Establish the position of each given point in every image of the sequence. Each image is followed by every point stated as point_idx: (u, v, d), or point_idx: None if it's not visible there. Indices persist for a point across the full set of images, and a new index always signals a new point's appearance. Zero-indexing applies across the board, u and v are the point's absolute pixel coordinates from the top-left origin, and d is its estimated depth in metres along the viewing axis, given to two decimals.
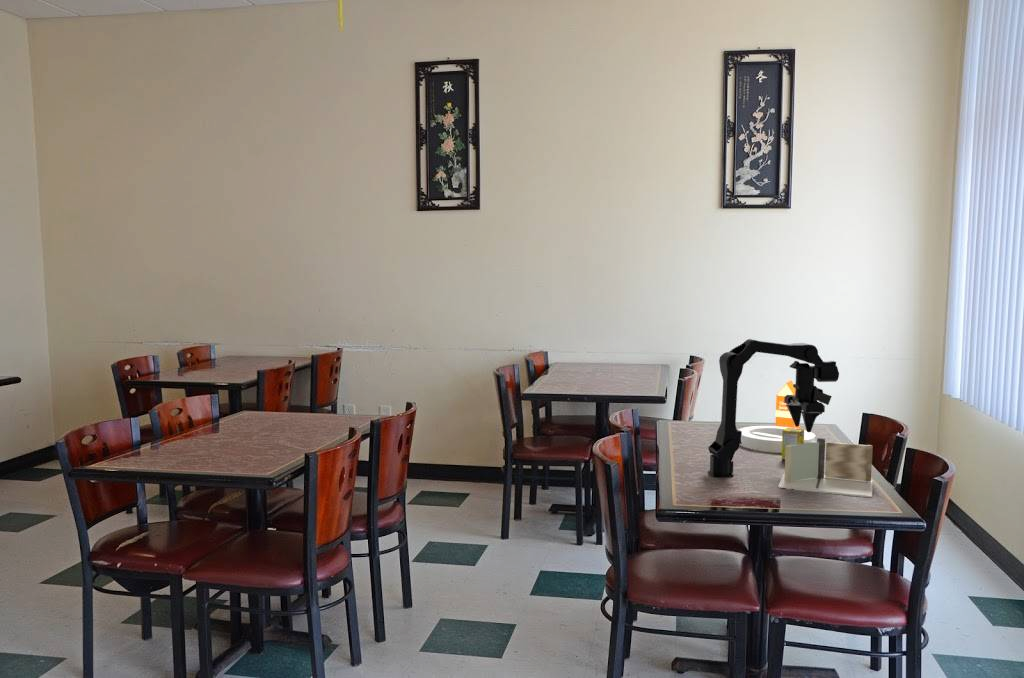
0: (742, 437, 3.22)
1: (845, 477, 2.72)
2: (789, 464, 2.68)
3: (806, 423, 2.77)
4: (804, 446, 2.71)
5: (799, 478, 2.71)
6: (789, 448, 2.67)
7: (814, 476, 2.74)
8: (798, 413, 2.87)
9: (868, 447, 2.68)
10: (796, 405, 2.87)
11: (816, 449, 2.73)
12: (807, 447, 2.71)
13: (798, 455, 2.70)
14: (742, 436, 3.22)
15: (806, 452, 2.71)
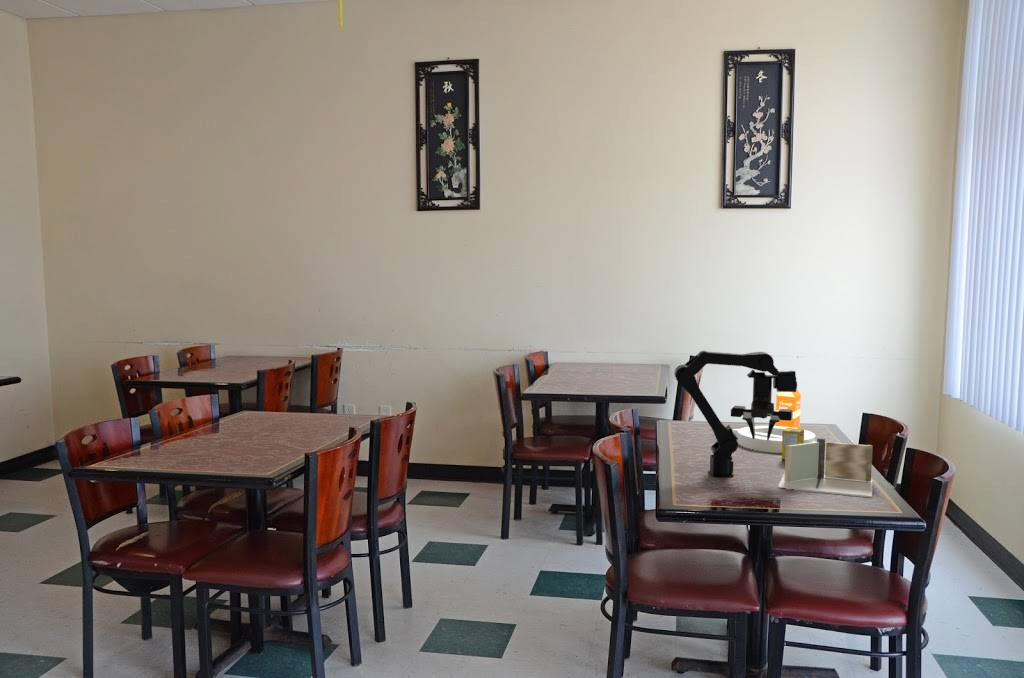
0: (742, 437, 3.22)
1: (845, 477, 2.72)
2: (789, 464, 2.68)
3: None
4: (804, 446, 2.71)
5: (799, 478, 2.71)
6: (789, 448, 2.67)
7: (814, 476, 2.74)
8: None
9: (868, 447, 2.68)
10: (771, 418, 2.77)
11: (816, 449, 2.73)
12: (807, 447, 2.71)
13: (798, 455, 2.70)
14: (742, 436, 3.22)
15: (806, 452, 2.71)
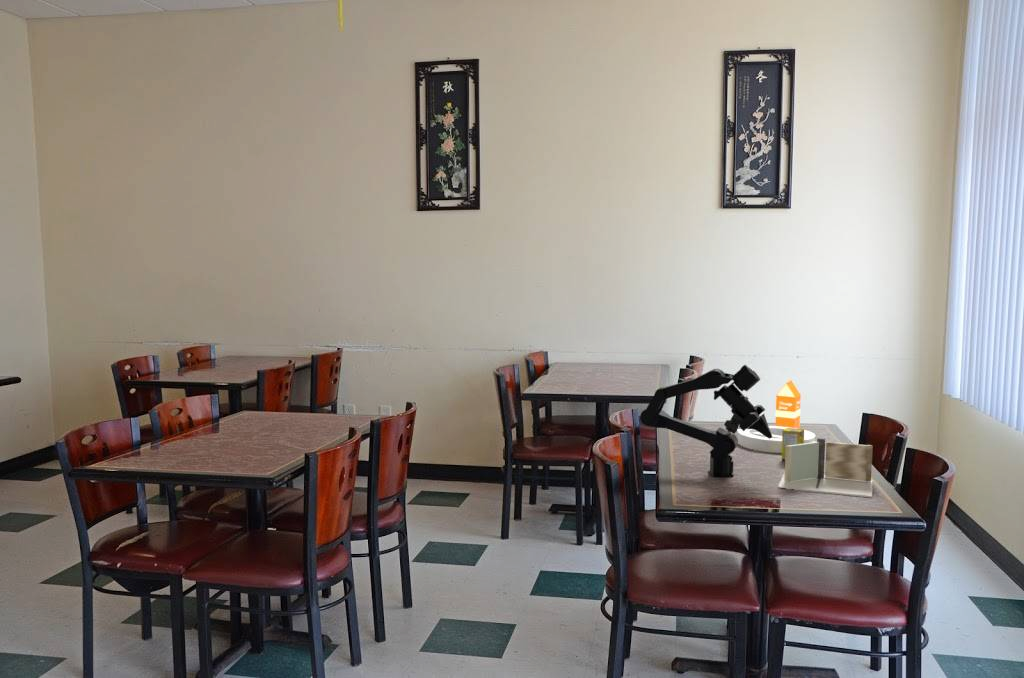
0: (742, 437, 3.22)
1: (845, 477, 2.72)
2: (789, 464, 2.68)
3: None
4: (804, 446, 2.71)
5: (799, 478, 2.71)
6: (789, 448, 2.67)
7: (814, 476, 2.74)
8: None
9: (868, 447, 2.68)
10: None
11: (816, 449, 2.73)
12: (807, 447, 2.71)
13: (798, 455, 2.70)
14: (742, 436, 3.22)
15: (806, 452, 2.71)
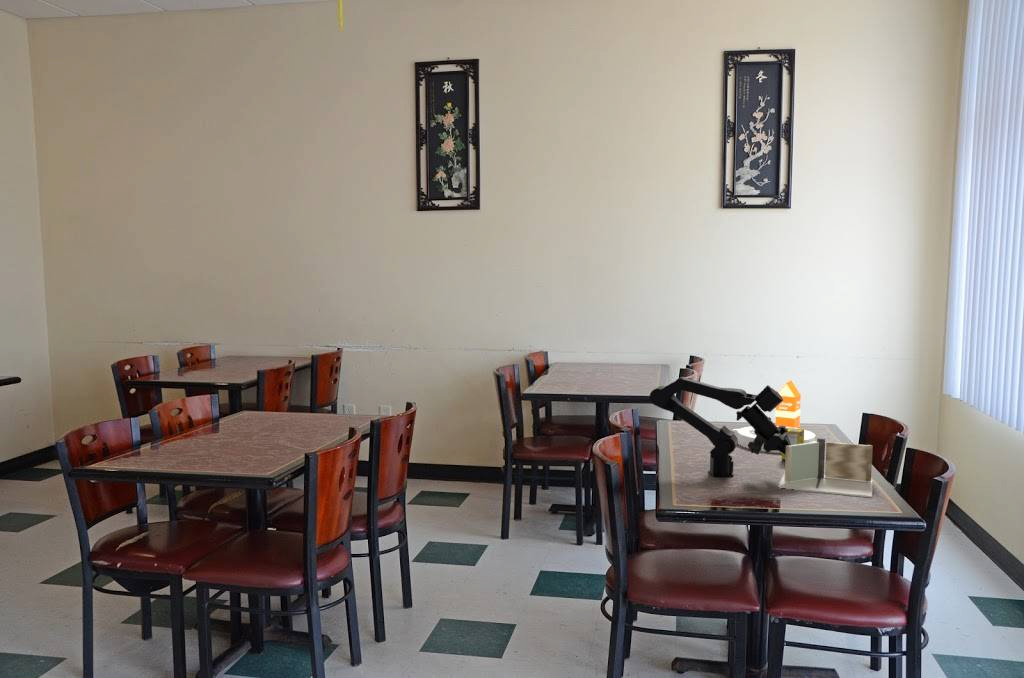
0: (742, 437, 3.22)
1: (845, 477, 2.72)
2: (789, 464, 2.68)
3: None
4: (804, 446, 2.71)
5: (799, 478, 2.71)
6: (789, 448, 2.67)
7: (814, 476, 2.74)
8: None
9: (868, 447, 2.68)
10: None
11: (816, 449, 2.73)
12: (807, 447, 2.71)
13: (798, 456, 2.70)
14: (742, 436, 3.22)
15: (806, 452, 2.71)
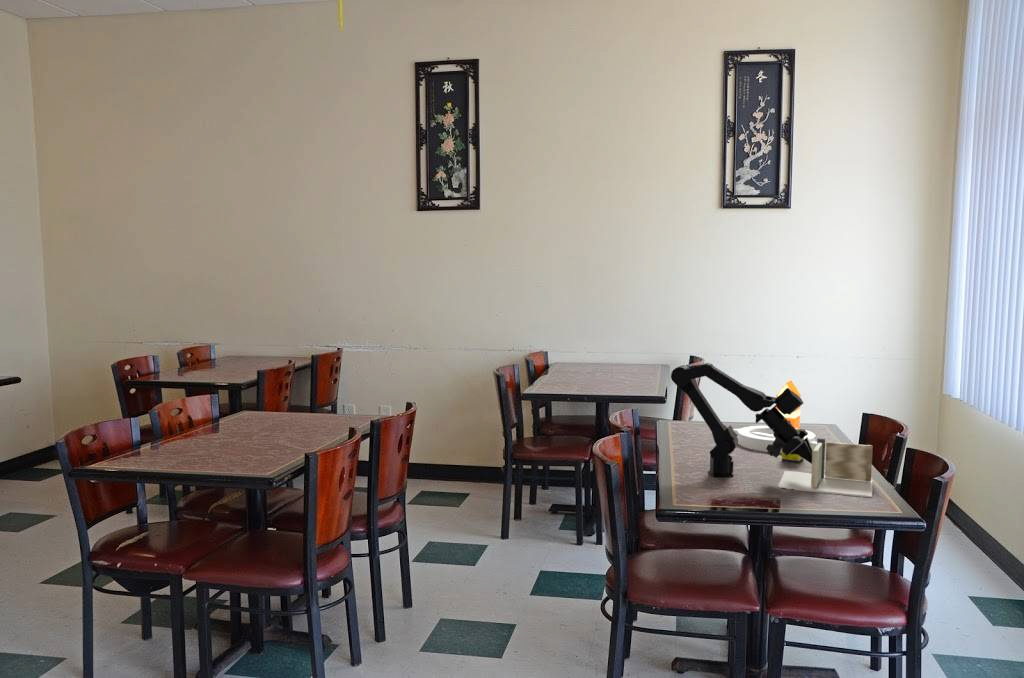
0: (742, 437, 3.22)
1: (845, 477, 2.72)
2: (817, 469, 2.62)
3: None
4: (820, 448, 2.67)
5: (818, 481, 2.67)
6: (818, 452, 2.61)
7: (820, 477, 2.73)
8: None
9: (868, 447, 2.68)
10: None
11: (821, 450, 2.72)
12: (820, 449, 2.68)
13: (818, 459, 2.65)
14: (742, 436, 3.22)
15: (820, 454, 2.68)
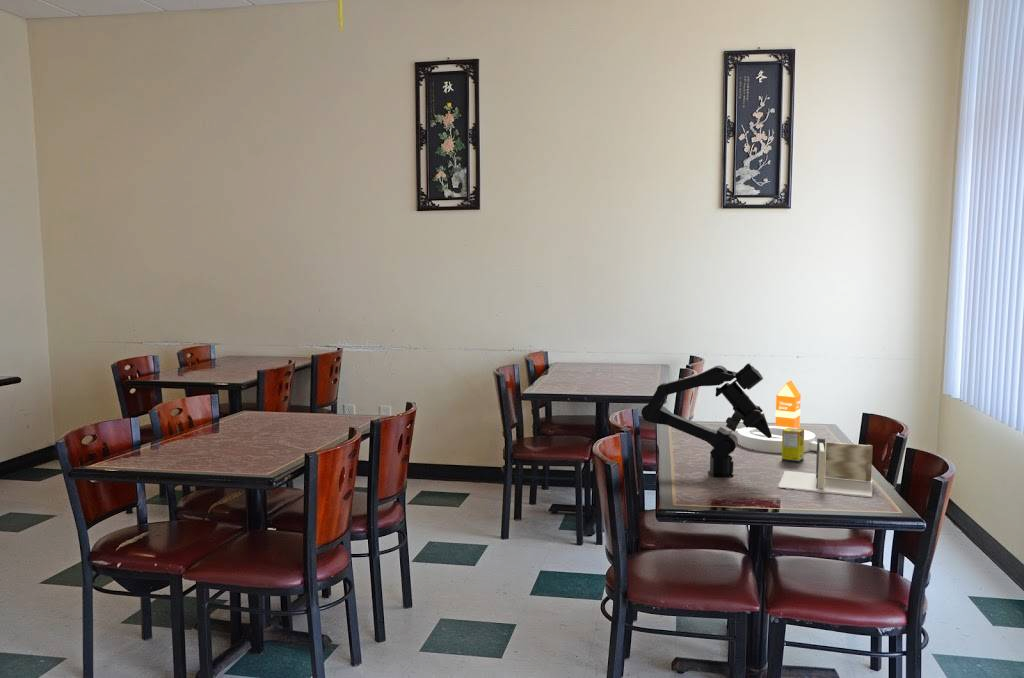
0: (742, 437, 3.22)
1: (845, 477, 2.72)
2: (824, 469, 2.61)
3: None
4: None
5: None
6: (825, 453, 2.61)
7: None
8: None
9: (868, 447, 2.68)
10: None
11: None
12: None
13: None
14: (742, 436, 3.22)
15: None
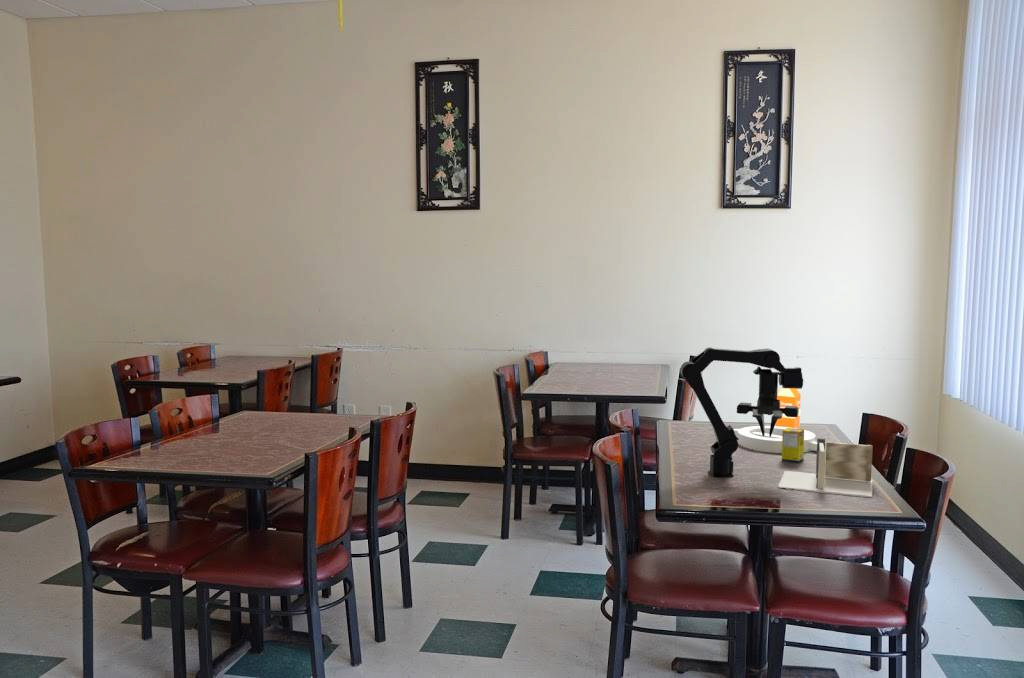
0: (742, 437, 3.22)
1: (845, 477, 2.72)
2: (824, 469, 2.61)
3: None
4: None
5: None
6: (825, 453, 2.61)
7: None
8: (771, 423, 2.77)
9: (868, 447, 2.68)
10: None
11: None
12: None
13: None
14: (742, 436, 3.22)
15: None
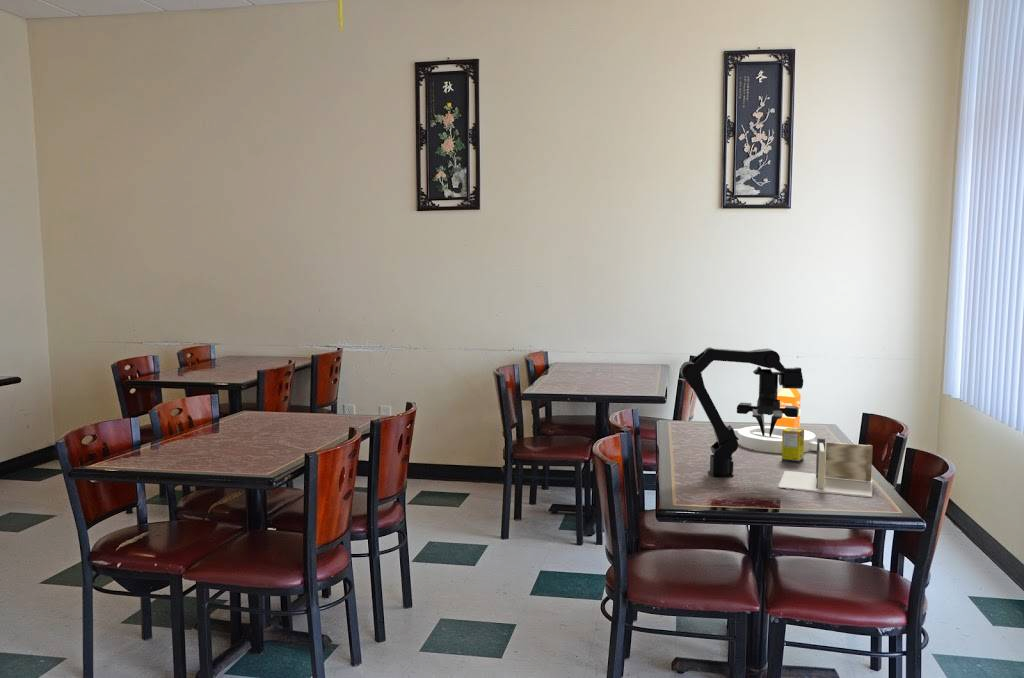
0: (742, 437, 3.22)
1: (845, 477, 2.72)
2: (824, 469, 2.61)
3: None
4: None
5: None
6: (825, 453, 2.61)
7: None
8: (771, 423, 2.77)
9: (868, 447, 2.68)
10: None
11: None
12: None
13: None
14: (742, 436, 3.22)
15: None
